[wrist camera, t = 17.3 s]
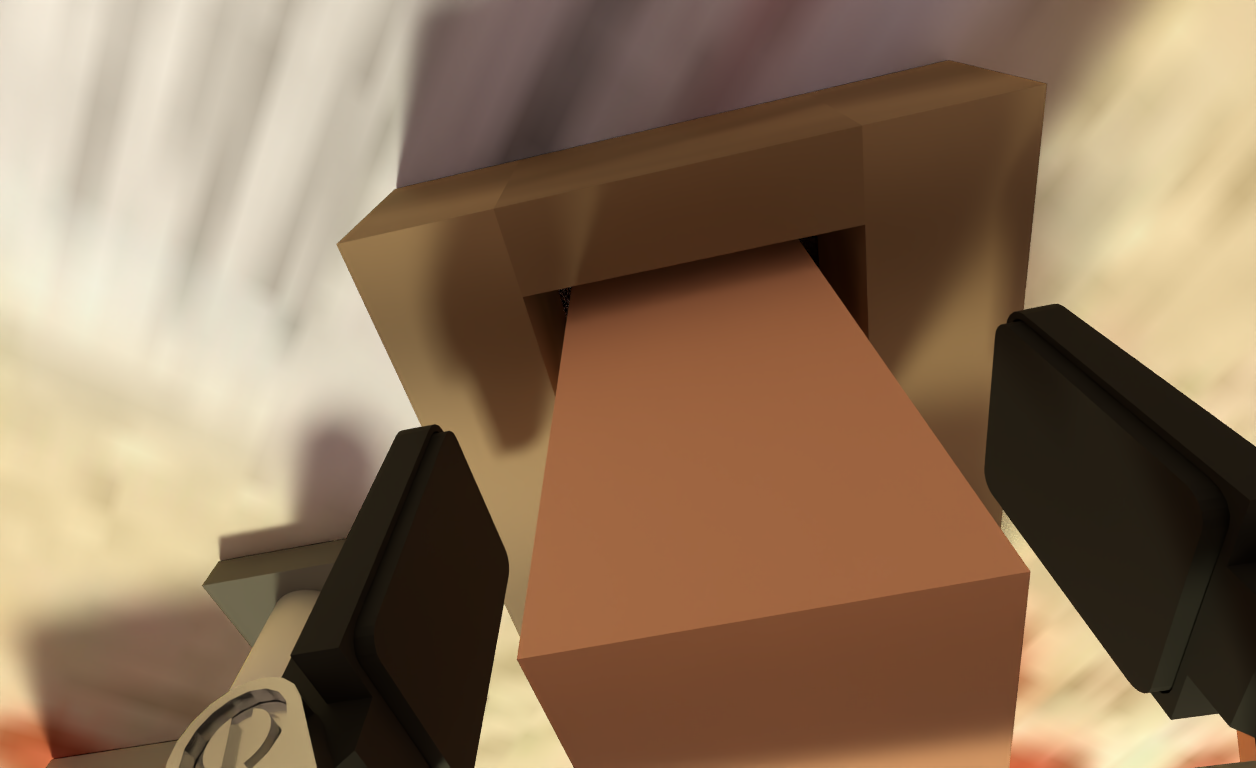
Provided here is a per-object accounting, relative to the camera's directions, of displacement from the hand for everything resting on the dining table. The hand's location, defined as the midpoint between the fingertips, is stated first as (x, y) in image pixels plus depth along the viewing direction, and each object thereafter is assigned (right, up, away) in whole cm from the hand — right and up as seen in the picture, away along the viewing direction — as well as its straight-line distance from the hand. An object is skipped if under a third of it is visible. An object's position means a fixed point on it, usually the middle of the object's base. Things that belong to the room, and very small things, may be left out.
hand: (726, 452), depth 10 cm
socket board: (+1, -1, +6) cm, 6 cm away
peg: (0, +2, +4) cm, 4 cm away
